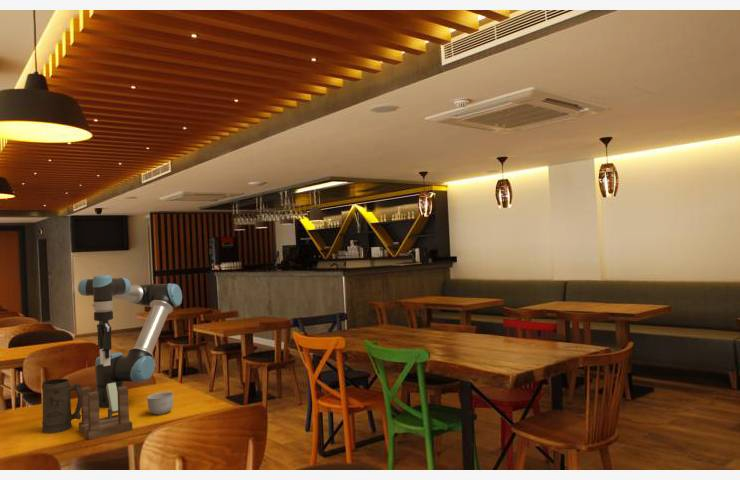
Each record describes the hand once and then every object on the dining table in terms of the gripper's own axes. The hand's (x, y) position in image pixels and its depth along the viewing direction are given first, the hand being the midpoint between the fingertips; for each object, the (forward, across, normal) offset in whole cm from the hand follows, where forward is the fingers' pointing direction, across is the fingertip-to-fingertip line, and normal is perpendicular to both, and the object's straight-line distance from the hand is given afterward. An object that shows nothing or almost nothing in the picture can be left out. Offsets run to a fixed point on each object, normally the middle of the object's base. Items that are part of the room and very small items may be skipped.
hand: (105, 364), depth 249 cm
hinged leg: (+18, +14, 0) cm, 22 cm away
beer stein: (+23, +3, -18) cm, 29 cm away
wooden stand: (+23, +19, -6) cm, 30 cm away
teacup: (+23, +10, +20) cm, 32 cm away
